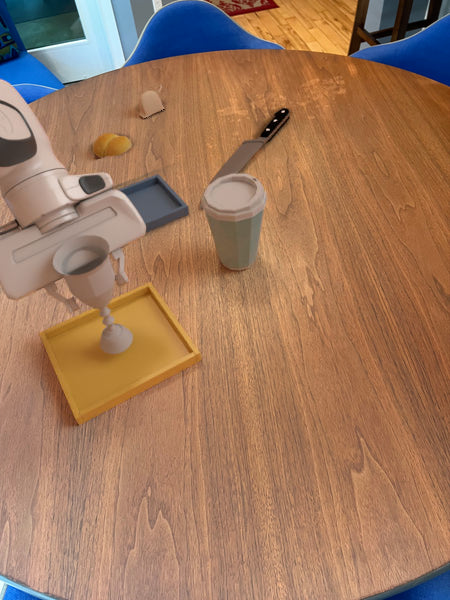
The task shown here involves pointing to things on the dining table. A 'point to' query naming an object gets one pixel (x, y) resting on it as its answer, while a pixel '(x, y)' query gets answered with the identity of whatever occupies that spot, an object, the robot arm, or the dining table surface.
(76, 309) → the robot arm
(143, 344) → the mustard tray
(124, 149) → the bread roll
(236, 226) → the disposable coffee cup
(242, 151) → the kitchen knife
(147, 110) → the decorative ornament
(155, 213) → the slate tray
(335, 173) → the dining table surface
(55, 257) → the chalice
